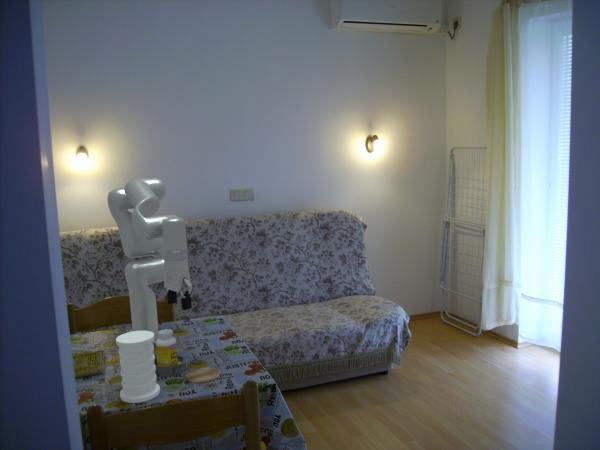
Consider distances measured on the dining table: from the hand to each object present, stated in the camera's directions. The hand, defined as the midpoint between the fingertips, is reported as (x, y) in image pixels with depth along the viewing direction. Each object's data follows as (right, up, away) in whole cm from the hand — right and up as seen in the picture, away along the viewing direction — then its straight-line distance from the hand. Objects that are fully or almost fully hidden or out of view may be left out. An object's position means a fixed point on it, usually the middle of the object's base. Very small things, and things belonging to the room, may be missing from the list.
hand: (179, 306), depth 177 cm
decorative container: (-8, -24, -16) cm, 30 cm away
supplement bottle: (-4, -21, +3) cm, 22 cm away
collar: (-4, -21, +3) cm, 22 cm away
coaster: (+9, -22, -5) cm, 24 cm away
